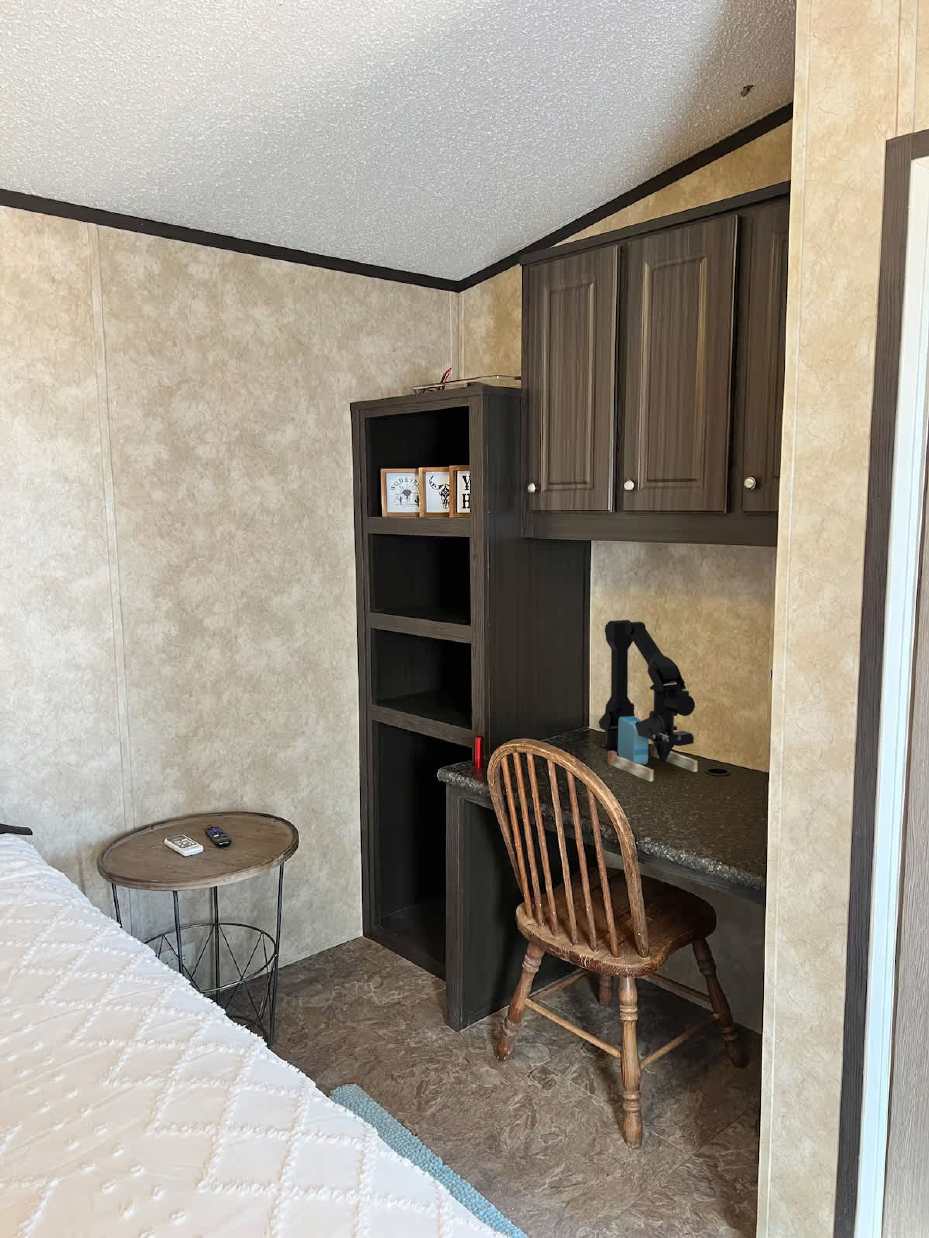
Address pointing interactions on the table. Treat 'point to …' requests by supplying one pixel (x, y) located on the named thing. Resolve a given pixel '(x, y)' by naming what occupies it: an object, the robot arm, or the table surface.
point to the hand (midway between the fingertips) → (662, 762)
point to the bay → (647, 772)
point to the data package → (631, 741)
